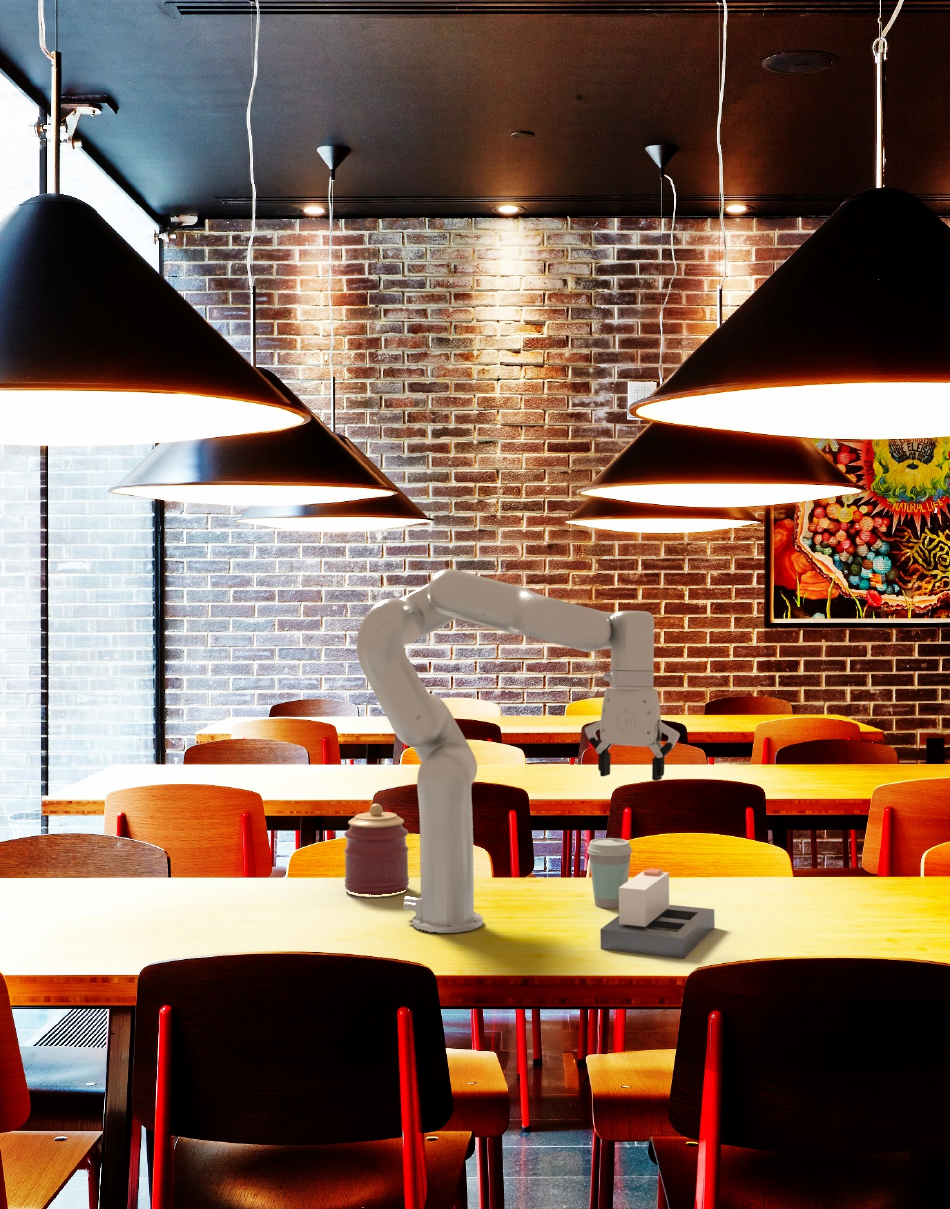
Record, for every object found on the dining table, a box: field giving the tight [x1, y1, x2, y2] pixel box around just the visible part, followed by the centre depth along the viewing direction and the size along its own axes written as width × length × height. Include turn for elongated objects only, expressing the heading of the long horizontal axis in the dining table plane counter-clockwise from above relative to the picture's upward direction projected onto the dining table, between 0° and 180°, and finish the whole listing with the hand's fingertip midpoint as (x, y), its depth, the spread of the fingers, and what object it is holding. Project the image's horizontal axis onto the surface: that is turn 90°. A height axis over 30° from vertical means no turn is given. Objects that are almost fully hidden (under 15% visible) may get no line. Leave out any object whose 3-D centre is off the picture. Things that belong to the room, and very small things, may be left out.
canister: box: [344, 803, 410, 895], centre depth 225 cm, size 13×13×18 cm
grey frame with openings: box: [599, 904, 716, 960], centre depth 189 cm, size 14×20×3 cm
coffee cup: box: [586, 837, 633, 909], centre depth 211 cm, size 8×9×12 cm
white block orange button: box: [618, 867, 670, 931], centre depth 190 cm, size 4×14×10 cm, turn 154°
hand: (630, 777), depth 195 cm, fingers open, 9 cm apart
